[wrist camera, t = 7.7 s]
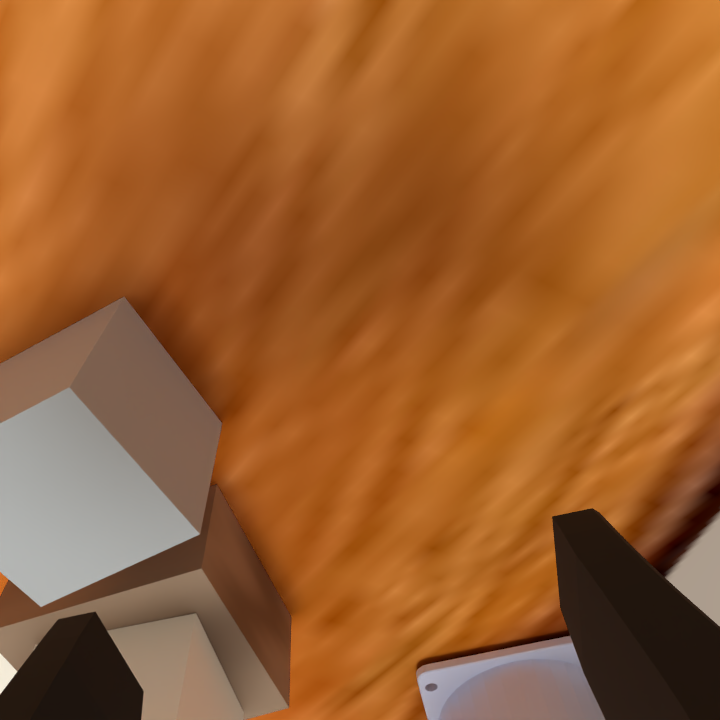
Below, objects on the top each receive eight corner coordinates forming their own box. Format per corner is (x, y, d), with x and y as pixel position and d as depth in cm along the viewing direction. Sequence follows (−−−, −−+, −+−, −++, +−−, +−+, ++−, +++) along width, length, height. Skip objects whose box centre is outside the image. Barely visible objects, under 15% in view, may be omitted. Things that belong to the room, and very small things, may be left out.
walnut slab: (291, 610, 26) (289, 707, 22) (126, 657, 26) (98, 759, 23) (217, 478, 22) (201, 568, 19) (30, 536, 23) (-19, 633, 20)
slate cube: (222, 422, 21) (200, 534, 17) (93, 484, 22) (40, 606, 18) (124, 295, 19) (69, 387, 14) (-15, 370, 20) (-107, 479, 15)
